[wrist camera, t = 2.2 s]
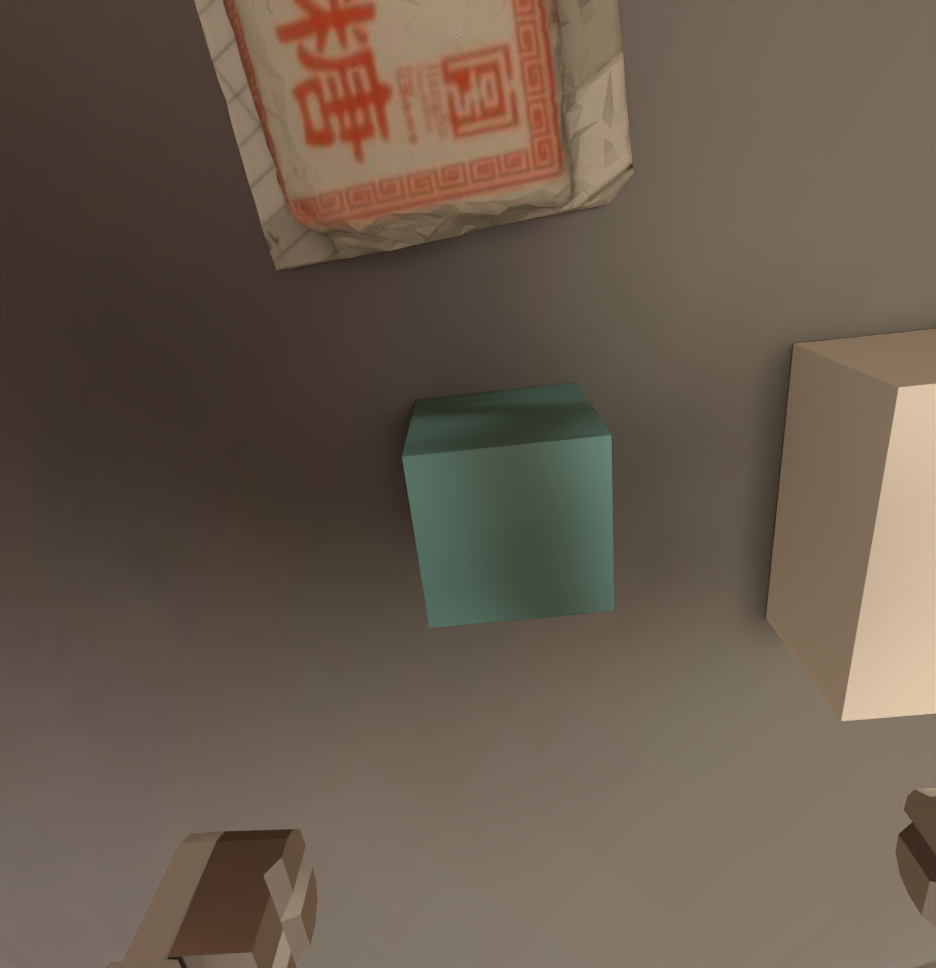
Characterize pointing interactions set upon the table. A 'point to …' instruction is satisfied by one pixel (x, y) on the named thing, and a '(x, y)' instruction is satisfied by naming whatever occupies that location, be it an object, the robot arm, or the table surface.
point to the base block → (860, 523)
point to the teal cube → (511, 505)
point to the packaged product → (418, 116)
